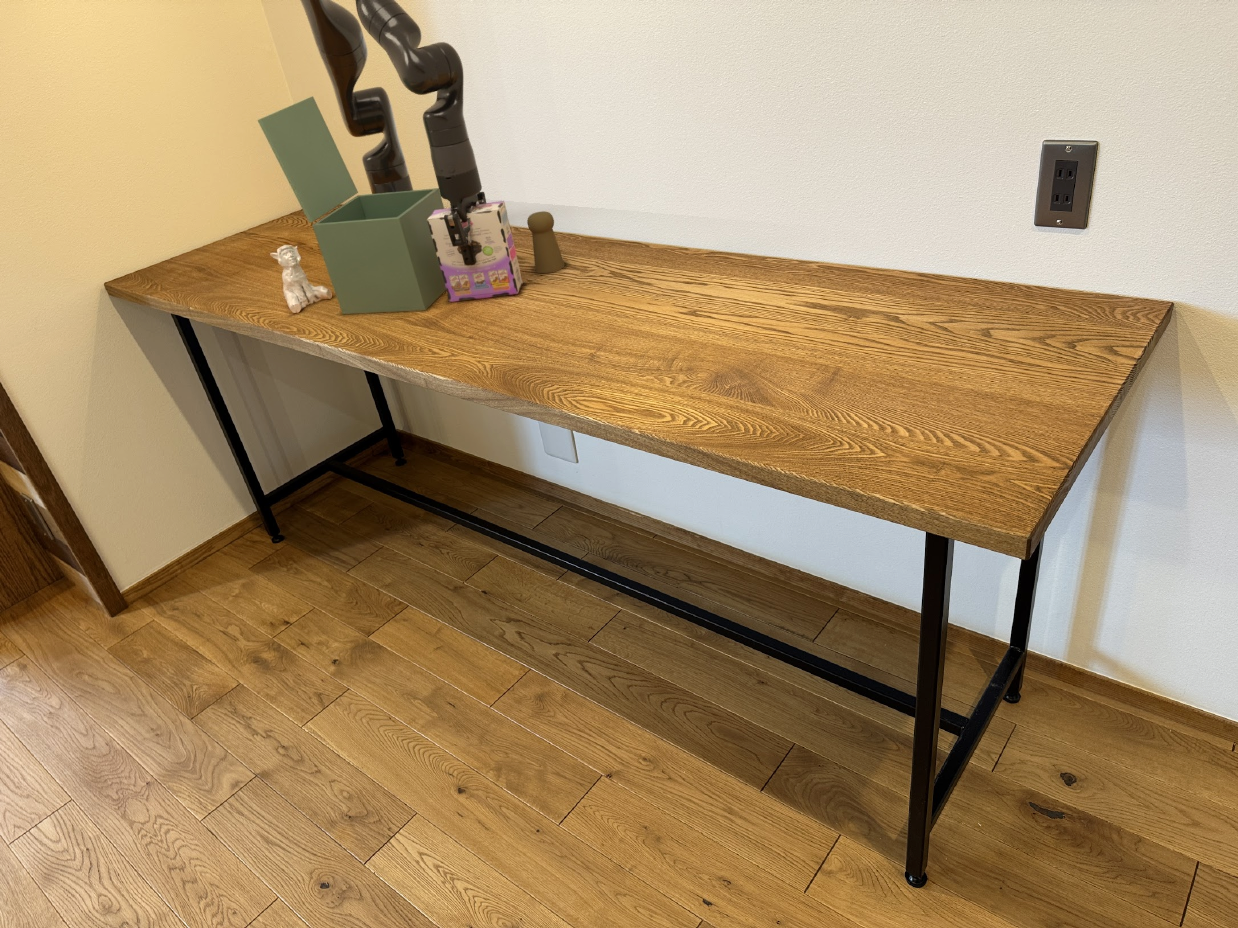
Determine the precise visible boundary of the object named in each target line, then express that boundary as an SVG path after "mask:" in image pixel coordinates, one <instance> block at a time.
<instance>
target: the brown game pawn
mask: <svg viewBox="0 0 1238 928" xmlns="http://www.w3.org/2000/svg"><path fill="white" fill-rule="evenodd" d="M526 223H527V228H528V230H529V231H530V232H531V235H532V247H533V248H532V249H533V261H534V262H533V263H534V271H535V272H536V273H538V274H550V273H555V272H558V271H560V270H562V269H563V268H565V262H564V257H563V255H562V253H561V250H560V246H559V244H558V241H557V238H556V235H555V232H554V229H553V228H554V226H555V219H554V216H553V215H552V213H550V212H549V211H546V210H545V211H537V212H533V213H531V214H529V216H528V217H527V221H526Z"/></svg>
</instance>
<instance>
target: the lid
mask: <svg viewBox="0 0 1238 928" xmlns="http://www.w3.org/2000/svg"><path fill="white" fill-rule="evenodd" d="M257 122H258V124H259V127H260V128H261V130H262V133H263V134H264V137H265V138H266V140H267V142H268V144H269V146H270V148H271V150H272V152H273V154H274V156H275V158H276V160H277V162H278V164H279V166H280V168H281V170H282V172H283V174H284V176H285V178H286V179H287V182H288V184H289V185H290V187H291V190H292V192H293V194H294V195H295V198H296V199H297V201H298V203H299V205H300V207H301V210H302V212H303V213H304V215H305V218H306V219H307V221H308V223H309V224H312V223H315V221H318V220H319V219H321V218H322V217H323V216H325V215H326V214H329V212H330V211H331V212H332V211H333V210H335V208H338V206H340V205H342V204H344V203H345V202H346V201H349V199H352V198H353V197H355V196H356V195H358V193H359V191H358V188H357V186H356V185H355V182H354V180H353V178H352V176H351V174H350V172H349V170H348V167H347V165H346V163H345V161H344V159H343V157H342V155H341V152H340V151H339V149H338V146H337V144H336V142H335V140H334V138H333V135H332V133H331V132H330V129H329V127H328V125H327V123H326V121H325V119H324V117H323V114H322V113H321V110H320V108H319V106H318V104H317V102H316V100H315V97H314V96H313V95H312V96H309V97H307V98H304V99H303V100H300V101H297V102H296V103H293V104H292V105H288V106H287V107H284V108H282V109H280V110H278V111H275V112H273V113H270V114H268V115H266V116H264V117H261V118H258V119H257Z"/></svg>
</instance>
